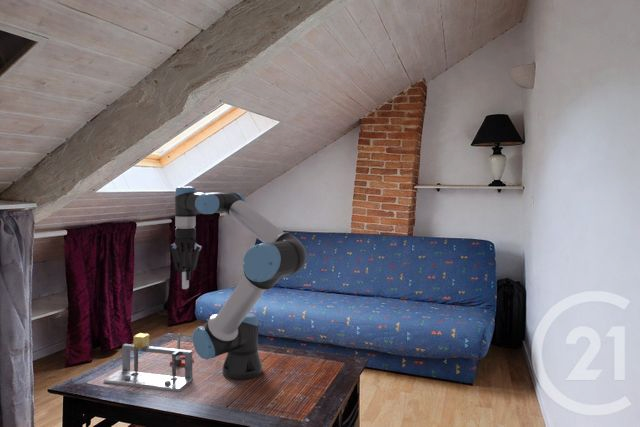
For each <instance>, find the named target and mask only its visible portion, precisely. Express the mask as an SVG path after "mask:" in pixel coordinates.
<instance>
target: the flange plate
mask: <svg viewBox="0 0 640 427" xmlns="http://www.w3.org/2000/svg"><path fill="white" fill-rule="evenodd" d="M192 379H193V377H192V378H185V376H184V377H183V376H182V377H181V376H177V375H176V376H175V378H173V377H172V375H166V374H158V373H148V372H140V371H137V374H135V372H134V370H133V371H132V370H130V371H124V370H122V369H119V370H117V371H115V372H114V373H112V374H110V375H109V376H108V377H106V378H104V379H103V383H107V384H113V385H114V384H115V385H121V386H131V387H139V388H147V389H153V390H161V391H171V392H176V393H177V392H178V393H180V392H182V390H184V389H185V388H186V387H187V386H188V385H189V384H190V383H191V382H192V381H193V380H192Z"/></svg>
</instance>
